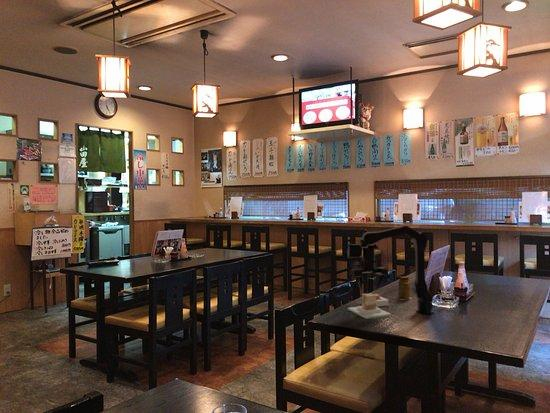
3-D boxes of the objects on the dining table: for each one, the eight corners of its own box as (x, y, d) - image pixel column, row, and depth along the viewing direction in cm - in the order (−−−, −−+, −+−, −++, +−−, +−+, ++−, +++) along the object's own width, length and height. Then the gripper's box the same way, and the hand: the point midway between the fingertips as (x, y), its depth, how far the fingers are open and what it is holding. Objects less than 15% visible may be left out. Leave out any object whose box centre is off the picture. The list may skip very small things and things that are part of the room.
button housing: (388, 305, 230) (388, 299, 230) (371, 307, 227) (371, 301, 226) (378, 301, 239) (378, 295, 239) (362, 302, 236) (362, 297, 236)
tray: (391, 316, 209) (391, 310, 209) (365, 318, 205) (365, 313, 205) (371, 307, 227) (371, 302, 226) (347, 309, 222) (347, 304, 222)
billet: (376, 311, 214) (375, 295, 214) (367, 312, 213) (367, 296, 213) (370, 309, 219) (370, 293, 219) (362, 309, 218) (361, 294, 217)
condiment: (412, 298, 246) (412, 277, 245) (402, 300, 241) (402, 279, 241) (402, 296, 252) (402, 275, 251) (392, 298, 247) (392, 277, 247)
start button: (381, 301, 231) (381, 295, 231) (373, 302, 230) (373, 296, 230) (376, 299, 236) (376, 293, 236) (369, 300, 234) (369, 294, 234)
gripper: (376, 254, 226) (376, 284, 226) (344, 256, 220) (344, 287, 221) (388, 257, 215) (388, 288, 216) (355, 259, 210) (355, 291, 210)
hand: (368, 288), depth 216 cm, fingers open, 9 cm apart
